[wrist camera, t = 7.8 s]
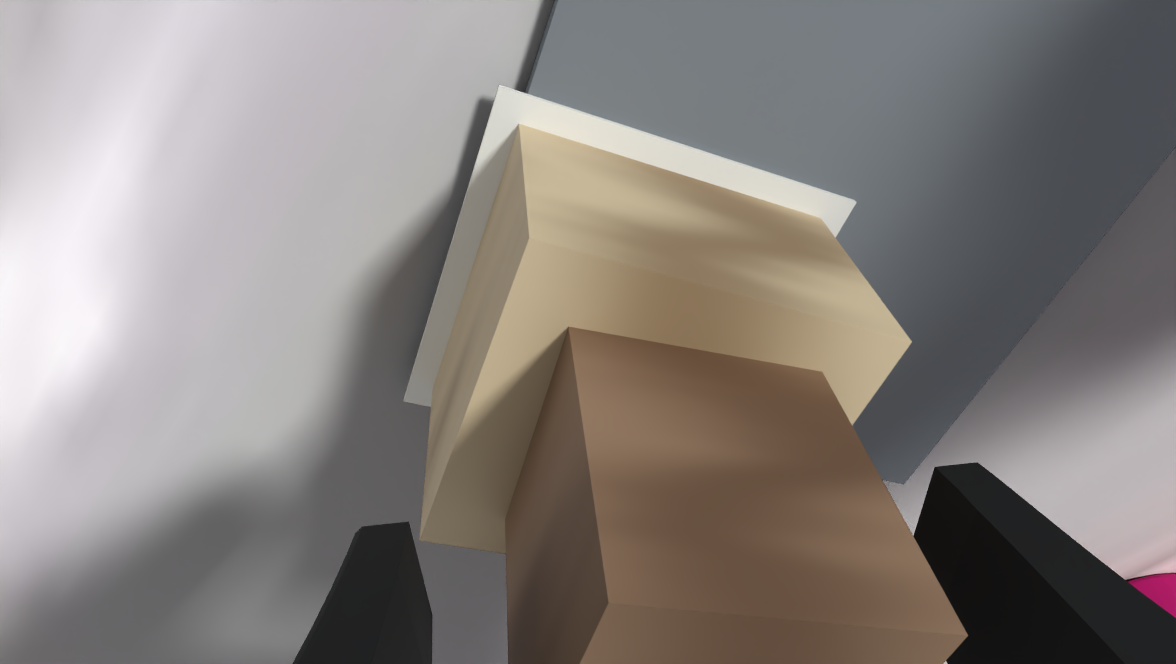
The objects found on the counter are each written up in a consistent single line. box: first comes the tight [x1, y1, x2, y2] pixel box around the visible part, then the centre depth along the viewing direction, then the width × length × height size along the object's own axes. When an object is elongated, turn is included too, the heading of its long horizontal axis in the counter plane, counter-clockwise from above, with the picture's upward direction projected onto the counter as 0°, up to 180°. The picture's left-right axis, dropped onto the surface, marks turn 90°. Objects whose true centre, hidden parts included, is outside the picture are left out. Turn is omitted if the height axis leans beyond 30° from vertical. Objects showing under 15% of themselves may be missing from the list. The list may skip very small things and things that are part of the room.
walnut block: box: [505, 327, 968, 664], centre depth 11 cm, size 4×4×4 cm
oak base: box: [419, 124, 912, 554], centre depth 14 cm, size 6×6×4 cm
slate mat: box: [403, 0, 1176, 484], centre depth 15 cm, size 12×14×1 cm
